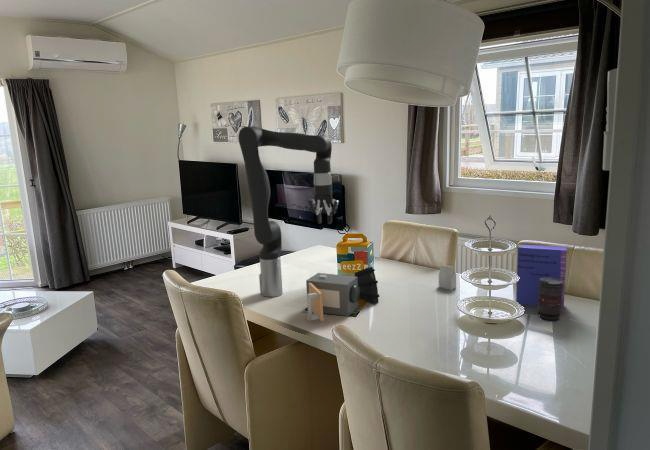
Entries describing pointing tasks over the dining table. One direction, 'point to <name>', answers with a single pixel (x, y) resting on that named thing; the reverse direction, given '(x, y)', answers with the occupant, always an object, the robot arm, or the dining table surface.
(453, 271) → the light grey rectangular block
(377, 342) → the dining table surface
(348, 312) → the grey hinged door box
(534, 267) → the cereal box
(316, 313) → the side door
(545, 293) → the camera lens
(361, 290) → the black ridged panel
